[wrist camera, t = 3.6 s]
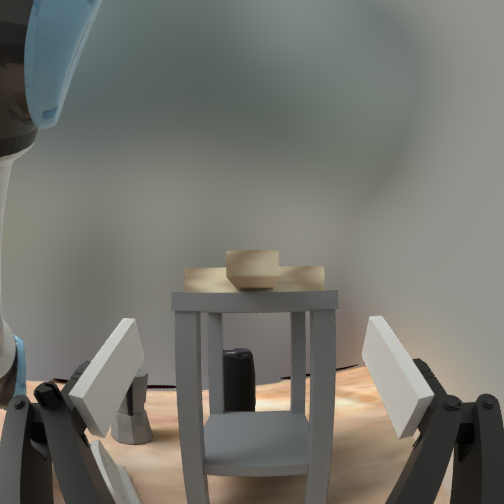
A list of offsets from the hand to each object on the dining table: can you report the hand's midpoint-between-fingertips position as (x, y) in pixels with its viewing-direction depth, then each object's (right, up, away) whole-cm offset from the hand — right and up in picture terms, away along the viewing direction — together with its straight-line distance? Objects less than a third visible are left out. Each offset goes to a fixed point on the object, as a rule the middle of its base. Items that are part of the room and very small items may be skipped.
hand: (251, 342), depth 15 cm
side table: (+1, -31, +21) cm, 37 cm away
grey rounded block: (-19, -29, +9) cm, 36 cm away
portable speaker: (-4, -37, +44) cm, 57 cm away
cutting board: (0, -1, +22) cm, 22 cm away
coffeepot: (-25, -34, +32) cm, 53 cm away
